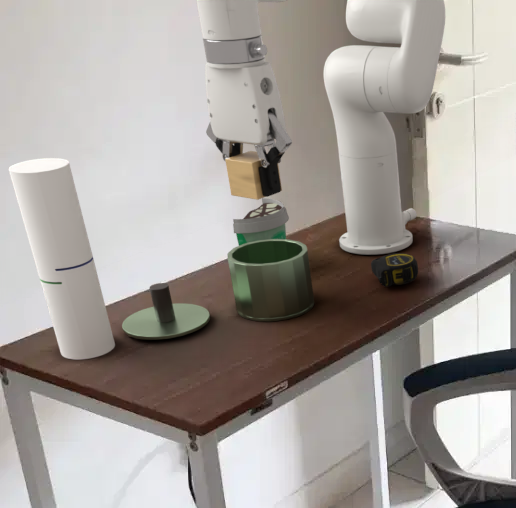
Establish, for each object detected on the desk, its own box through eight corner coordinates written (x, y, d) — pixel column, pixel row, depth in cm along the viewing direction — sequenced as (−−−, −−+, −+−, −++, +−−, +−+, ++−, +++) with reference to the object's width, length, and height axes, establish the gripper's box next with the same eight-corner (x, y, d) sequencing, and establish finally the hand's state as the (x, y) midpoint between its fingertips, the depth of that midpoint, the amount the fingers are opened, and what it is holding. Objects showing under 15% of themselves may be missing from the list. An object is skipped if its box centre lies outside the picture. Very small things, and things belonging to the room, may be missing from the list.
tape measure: (371, 278, 160) (369, 255, 158) (413, 272, 161) (411, 249, 159) (380, 292, 154) (378, 269, 152) (423, 286, 156) (421, 263, 154)
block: (256, 186, 144) (250, 150, 141) (282, 190, 142) (277, 154, 139) (231, 195, 140) (224, 158, 138) (257, 200, 138) (251, 163, 135)
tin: (273, 287, 157) (265, 234, 153) (329, 300, 152) (323, 245, 147) (221, 312, 149) (210, 257, 144) (278, 327, 144) (269, 270, 139)
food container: (278, 284, 158) (269, 221, 153) (242, 282, 160) (231, 220, 154) (306, 257, 169) (298, 198, 163) (272, 256, 170) (263, 197, 164)
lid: (169, 304, 152) (161, 266, 149) (228, 319, 147) (221, 279, 144) (105, 333, 144) (95, 293, 140) (165, 350, 138) (156, 308, 135)
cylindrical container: (114, 355, 137) (67, 169, 124) (59, 362, 136) (5, 175, 122) (115, 335, 143) (70, 155, 130) (62, 342, 141) (11, 161, 128)
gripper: (303, 51, 130) (320, 192, 140) (208, 43, 138) (231, 177, 147) (263, 60, 125) (284, 206, 134) (167, 52, 132) (193, 190, 142)
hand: (256, 190), depth 141 cm, fingers closed on block, 5 cm apart
